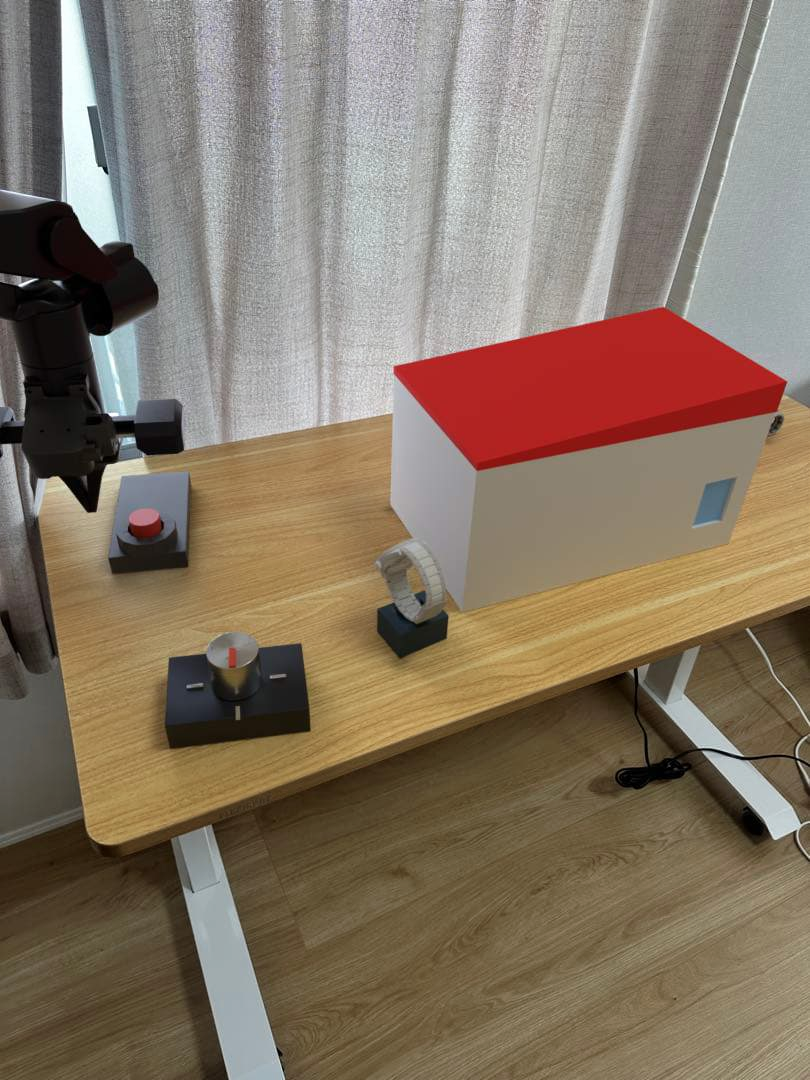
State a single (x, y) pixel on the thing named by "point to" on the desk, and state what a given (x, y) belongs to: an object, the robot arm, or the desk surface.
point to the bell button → (145, 523)
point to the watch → (412, 599)
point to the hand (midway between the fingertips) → (92, 510)
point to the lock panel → (216, 720)
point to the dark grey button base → (174, 509)
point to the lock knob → (234, 665)
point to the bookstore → (576, 452)
